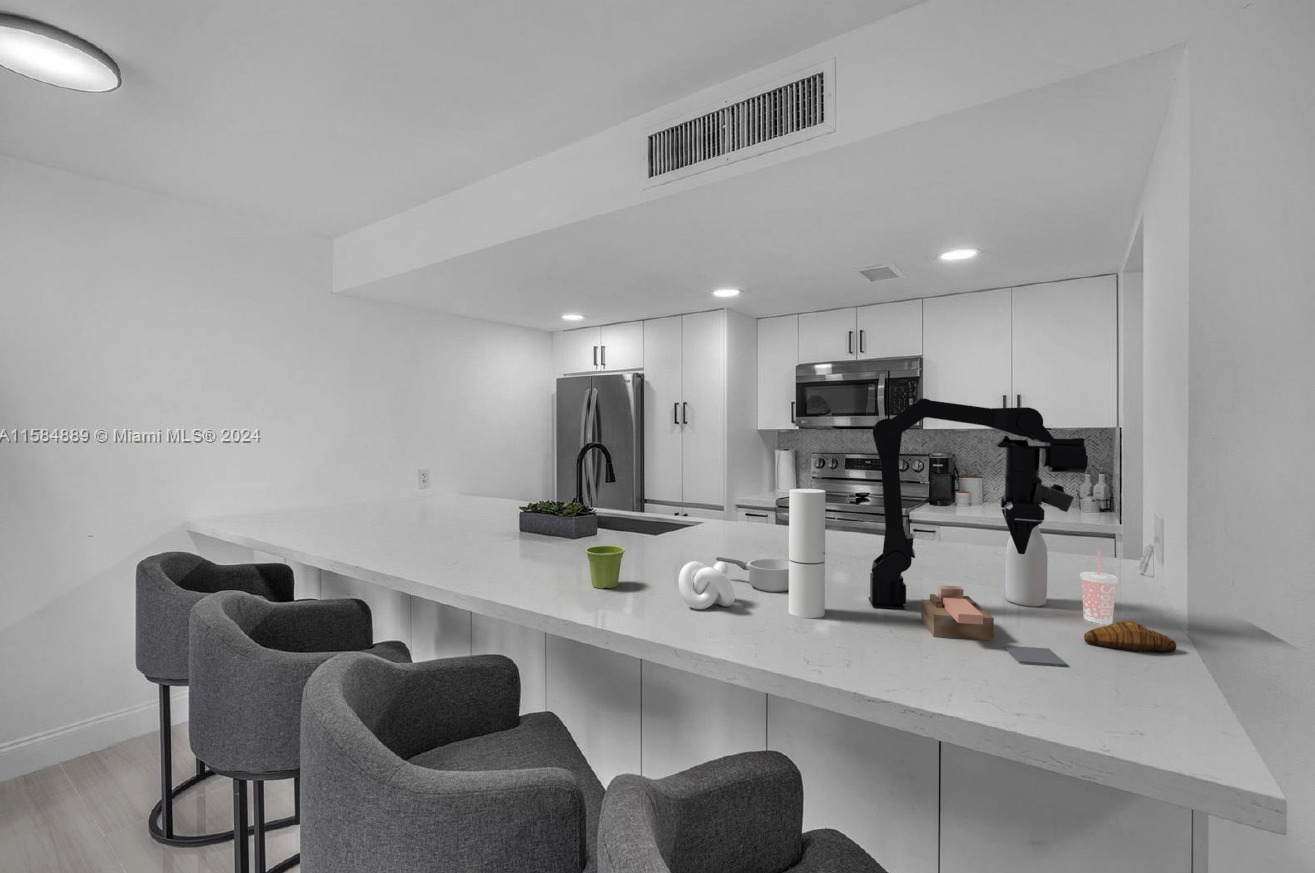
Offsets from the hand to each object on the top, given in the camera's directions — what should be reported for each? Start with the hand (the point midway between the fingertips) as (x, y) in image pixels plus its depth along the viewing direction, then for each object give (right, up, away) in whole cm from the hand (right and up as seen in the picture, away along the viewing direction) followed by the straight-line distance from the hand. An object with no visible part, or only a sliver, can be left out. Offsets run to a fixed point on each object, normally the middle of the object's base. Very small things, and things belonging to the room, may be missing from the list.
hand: (1019, 549), depth 121 cm
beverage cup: (+15, -14, -1) cm, 20 cm away
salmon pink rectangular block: (-17, -10, -10) cm, 22 cm away
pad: (-9, -14, -20) cm, 26 cm away
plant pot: (-84, -13, +24) cm, 89 cm away
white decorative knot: (-62, -14, +9) cm, 64 cm away
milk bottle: (+8, -14, +11) cm, 19 cm away
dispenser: (-16, -14, -6) cm, 22 cm away
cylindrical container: (-41, -14, +4) cm, 44 cm away
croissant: (+10, -15, -15) cm, 23 cm away
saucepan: (-48, -13, +25) cm, 56 cm away
